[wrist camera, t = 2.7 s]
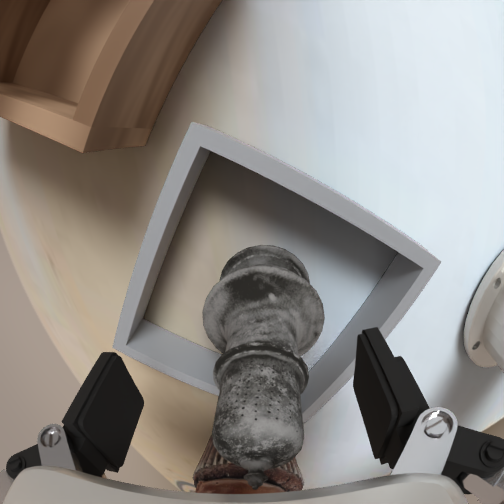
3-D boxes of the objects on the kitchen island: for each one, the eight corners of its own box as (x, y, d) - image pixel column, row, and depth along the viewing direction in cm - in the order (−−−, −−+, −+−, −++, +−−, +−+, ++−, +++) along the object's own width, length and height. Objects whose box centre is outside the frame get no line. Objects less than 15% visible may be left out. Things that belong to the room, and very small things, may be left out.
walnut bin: (252, -41, 10) (244, -102, 4) (145, 145, 14) (82, 152, 9) (90, -55, 8) (49, -86, 3) (10, 94, 13) (-50, 95, 7)
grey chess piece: (269, 343, 19) (265, 521, 7) (195, 291, 17) (119, 471, 6) (335, 282, 17) (402, 469, 6) (257, 218, 16) (231, 403, 4)
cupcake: (180, 430, 23) (156, 519, 14) (270, 405, 21) (267, 518, 12) (236, 470, 26) (228, 544, 17) (317, 450, 24) (324, 535, 14)
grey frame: (417, 242, 16) (441, 261, 13) (301, 392, 20) (304, 423, 17) (206, 125, 14) (191, 121, 11) (130, 321, 19) (112, 347, 16)
